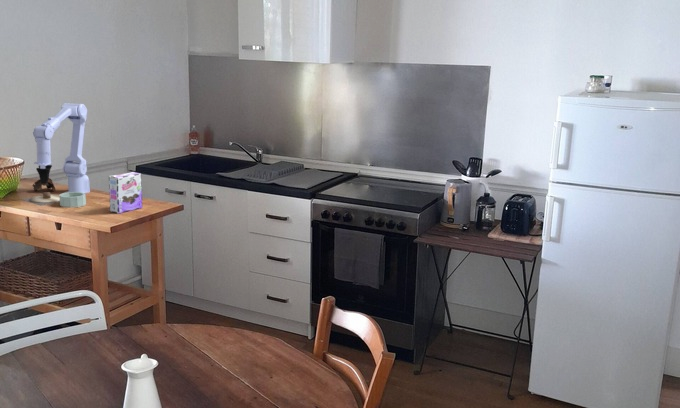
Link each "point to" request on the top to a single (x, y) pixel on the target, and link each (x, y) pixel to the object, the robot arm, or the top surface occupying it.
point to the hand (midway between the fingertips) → (44, 182)
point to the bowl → (72, 199)
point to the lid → (45, 198)
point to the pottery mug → (48, 185)
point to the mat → (38, 203)
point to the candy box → (125, 192)
